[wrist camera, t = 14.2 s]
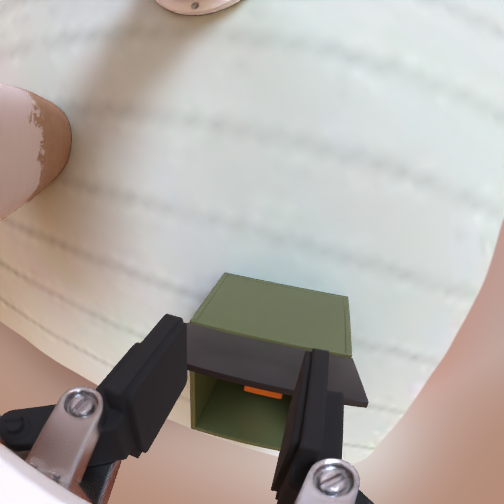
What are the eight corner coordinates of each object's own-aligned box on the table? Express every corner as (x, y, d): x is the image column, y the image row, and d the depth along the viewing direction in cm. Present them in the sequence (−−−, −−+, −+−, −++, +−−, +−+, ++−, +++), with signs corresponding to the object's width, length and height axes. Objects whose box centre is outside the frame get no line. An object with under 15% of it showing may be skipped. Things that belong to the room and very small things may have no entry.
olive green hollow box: (224, 272, 34) (190, 320, 25) (348, 296, 32) (352, 355, 23) (216, 374, 39) (191, 428, 31) (315, 396, 37) (308, 456, 29)
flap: (187, 327, 24) (187, 322, 24) (351, 362, 22) (352, 358, 22) (142, 355, 17) (143, 349, 17) (366, 407, 15) (368, 401, 15)
